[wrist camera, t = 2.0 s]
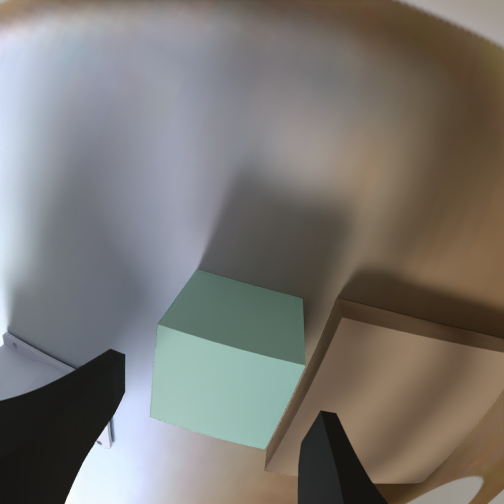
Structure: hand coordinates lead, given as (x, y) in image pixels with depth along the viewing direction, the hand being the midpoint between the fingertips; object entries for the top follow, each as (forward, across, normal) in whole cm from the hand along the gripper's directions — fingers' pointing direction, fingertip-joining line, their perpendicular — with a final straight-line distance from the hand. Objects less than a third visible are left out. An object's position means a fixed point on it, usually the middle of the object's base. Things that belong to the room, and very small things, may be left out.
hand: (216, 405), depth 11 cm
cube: (+5, 0, 0) cm, 5 cm away
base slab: (+5, -10, +3) cm, 12 cm away
